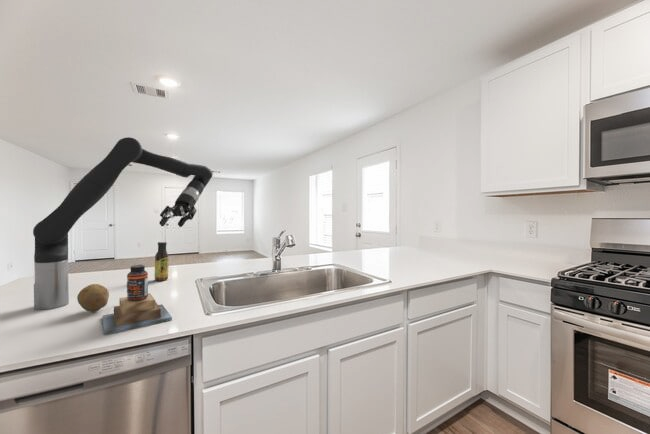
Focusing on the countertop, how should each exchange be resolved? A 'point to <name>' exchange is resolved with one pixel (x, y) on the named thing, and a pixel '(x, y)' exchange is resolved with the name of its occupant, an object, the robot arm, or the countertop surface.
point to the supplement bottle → (137, 283)
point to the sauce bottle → (161, 262)
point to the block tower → (134, 315)
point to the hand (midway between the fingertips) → (170, 225)
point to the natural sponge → (93, 297)
